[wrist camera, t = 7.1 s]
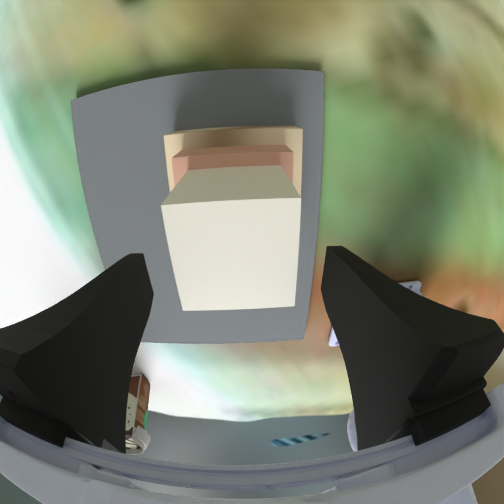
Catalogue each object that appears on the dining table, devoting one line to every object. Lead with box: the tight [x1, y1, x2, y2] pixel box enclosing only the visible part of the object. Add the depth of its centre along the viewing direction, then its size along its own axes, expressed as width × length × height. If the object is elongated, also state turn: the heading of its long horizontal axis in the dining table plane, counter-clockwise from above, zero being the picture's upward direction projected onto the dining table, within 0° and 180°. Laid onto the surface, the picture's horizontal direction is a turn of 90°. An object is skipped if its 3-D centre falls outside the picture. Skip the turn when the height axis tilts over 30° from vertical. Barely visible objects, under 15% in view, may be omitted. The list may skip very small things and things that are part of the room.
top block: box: [161, 165, 301, 311], centre depth 12 cm, size 5×5×5 cm
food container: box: [126, 374, 150, 455], centre depth 29 cm, size 12×6×10 cm, turn 111°
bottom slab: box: [164, 126, 303, 197], centre depth 17 cm, size 8×8×2 cm
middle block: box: [172, 145, 293, 186], centre depth 15 cm, size 6×6×2 cm
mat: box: [71, 68, 324, 344], centre depth 21 cm, size 18×24×1 cm
